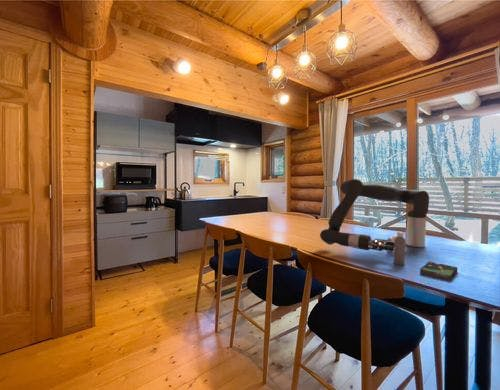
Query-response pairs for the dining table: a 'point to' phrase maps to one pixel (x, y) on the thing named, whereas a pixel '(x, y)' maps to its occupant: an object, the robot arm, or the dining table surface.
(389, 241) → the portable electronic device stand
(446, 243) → the dining table surface
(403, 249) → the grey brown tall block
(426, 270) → the disk drive
